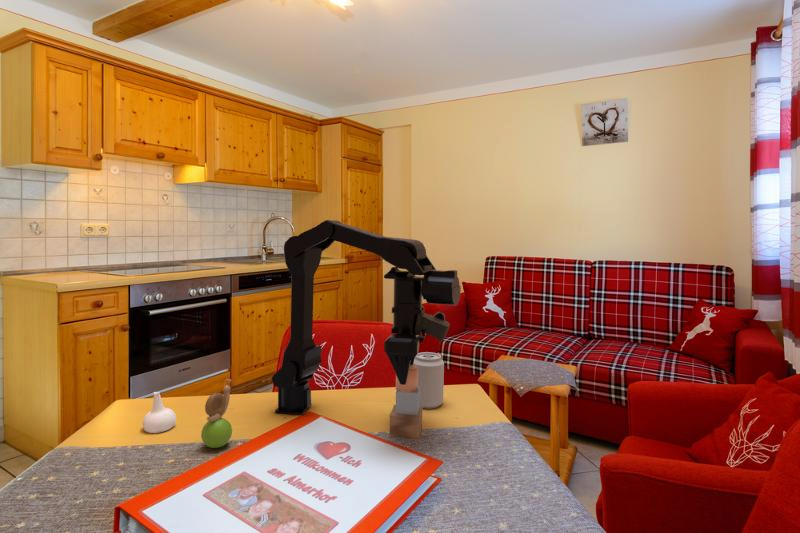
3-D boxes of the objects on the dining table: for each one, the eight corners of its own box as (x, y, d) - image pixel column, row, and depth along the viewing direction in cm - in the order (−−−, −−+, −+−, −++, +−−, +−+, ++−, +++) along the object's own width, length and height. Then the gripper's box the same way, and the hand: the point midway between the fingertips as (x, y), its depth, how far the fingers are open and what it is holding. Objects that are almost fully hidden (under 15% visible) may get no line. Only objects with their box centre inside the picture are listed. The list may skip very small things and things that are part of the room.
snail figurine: (241, 440, 91) (241, 380, 90) (218, 455, 85) (217, 390, 84) (218, 436, 93) (218, 377, 92) (194, 450, 87) (193, 387, 86)
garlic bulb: (182, 423, 99) (182, 387, 98) (163, 436, 93) (162, 397, 92) (156, 421, 100) (155, 385, 99) (135, 433, 94) (134, 395, 93)
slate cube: (395, 413, 94) (395, 392, 94) (398, 405, 99) (398, 384, 98) (417, 415, 94) (418, 393, 93) (419, 406, 98) (419, 385, 98)
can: (443, 399, 115) (444, 351, 114) (442, 410, 108) (444, 359, 107) (412, 397, 116) (413, 350, 115) (410, 409, 108) (411, 358, 108)
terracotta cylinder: (394, 392, 94) (394, 370, 94) (397, 384, 98) (397, 363, 98) (416, 393, 93) (417, 371, 93) (418, 386, 98) (419, 364, 98)
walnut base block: (389, 437, 94) (389, 415, 93) (393, 425, 100) (394, 404, 99) (419, 439, 93) (419, 417, 93) (421, 427, 99) (422, 406, 98)
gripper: (445, 310, 84) (443, 395, 85) (449, 296, 102) (448, 366, 104) (384, 308, 86) (383, 391, 87) (399, 295, 104) (398, 363, 105)
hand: (406, 377), depth 96 cm, fingers open, 9 cm apart
